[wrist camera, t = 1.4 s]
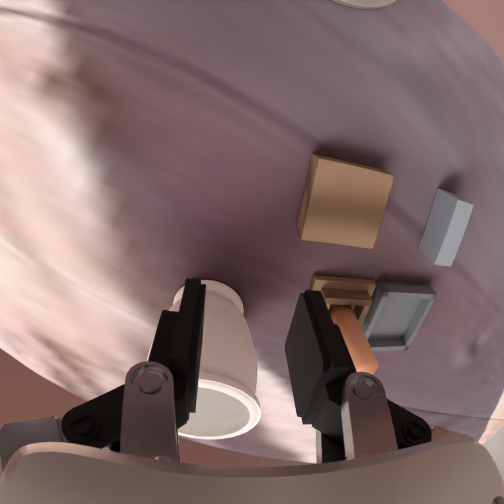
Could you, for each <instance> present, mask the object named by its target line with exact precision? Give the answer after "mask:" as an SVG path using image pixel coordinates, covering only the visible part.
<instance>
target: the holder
mask: <svg viewBox="0 0 504 504" xmlns="http://www.w3.org/2000/svg"><path fill="white" fill-rule="evenodd" d="M375 287H376V283H375V282H374V280H367V279H355V278H344V277H332V276H321V275H313V279H312V282H311V286H310V289H309V290H316V291H320V292H321V293H322V296H323V298H324V301H325V303H326V306H327V308H328V310H329V307H330V304H338V305H350V306H351V308H352V310H353V312H354V314H355V316H356V318H357V320H358V322H359V324H360V326H362V324H363V322H364V319H365V317H366V315H367V313H368V310H369V308H370V306H371V303H372V301H373V300H372V299H371V296H372V294H373V292H374V289H375Z"/></svg>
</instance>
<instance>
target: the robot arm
mask: <svg viewBox="0 0 504 504" xmlns="http://www.w3.org/2000/svg"><path fill="white" fill-rule="evenodd" d="M332 1H335V2H337V3H340V4H343V5H345V6H349V7H354V8H358V9H379V8H382V7H385V6H388V5H390V4H392V3H394V2H395V1H397V0H332ZM205 296H206V284H201V280H198V279H189V278H187V279H186V283H185V287H184V291H183V295H182V299H181V303H180V307H179V311H178V312H176V311H168V310H163V311H162V313H161V317H160V320H159V323H158V327H157V330H156V334H155V337H154V340H153V344H152V348H151V351H150V355H149V358H148V361H147V362H141V363H138V364H136V365H134V366H133V367H131V368H130V370H129V371H128V372H127V375H126V379H125V384H124V385H122V386H120V387H117V388H115V389H113V390H111V391H109V392H107V393H105V394H103V395H101V396H99V397H97V398H94V399H92V400H90V401H88V402H86V403H84V404H81V405H79V406H77V407H75V408H73V409H71V410H70V411H68V412H67V413H66V414H65V415H64V417H63V418H56V417H55V416H52V417H46V418H40V419H33V420H26V421H18V422H11V423H7V424H5V425H4V426H2V427H1V429H0V460H1V466H2V471H3V474H2V477H1V480H0V504H504V482H503V479H502V477H501V474H500V472H499V470H498V468H497V466H496V464H495V462H494V460H493V458H492V456H491V455H490V453H489V452H488V451H487V449H486V448H485V447H484V446H483V445H482V444H480V443H479V442H476V441H475V440H474V439H473V438H472V437H471V436H469V435H467V434H462V433H458V432H454V431H450V430H446V429H443V428H439V427H435V426H433V427H432V428H430V427H429V425H428V424H427V422H426V421H425V420H423V419H422V418H420V417H418V416H417V415H415V414H413V413H411V412H409V411H408V410H406V409H404V408H402V407H400V406H399V405H397V404H395V403H393V402H392V401H390V400H388V399H387V398H386V394H385V390H384V387H383V384H382V383H381V381H380V380H379V379H378V378H377V377H375V376H374V375H372V374H370V373H367V372H357V371H356V368H355V365H354V363H353V360H352V358H351V355H350V353H349V350H348V348H347V345H346V343H345V340H344V338H343V335H342V333H341V330H340V328H339V326H338V325H337V324H334V323H333V320H332V318H331V315H330V313H329V310H328V308H327V306H326V303H325V301H324V298H323V296H322V293H321V292H320V291H316V290H305V292H304V293H300V295H299V298H298V302H297V305H296V309H295V312H294V316H293V319H292V322H291V326H290V329H289V332H288V336H287V339H286V343H285V352H286V358H287V363H288V369H289V374H290V380H291V385H292V391H293V396H294V402H295V408H296V413H297V416H298V417H302V423H303V424H312V427H314V428H315V429H316V457H317V464H311V465H300V466H285V467H284V466H283V467H225V466H208V465H196V464H186V463H181V462H180V453H179V452H180V451H179V439H178V429H179V428H180V427H182V426H183V425H185V424H187V420H188V421H189V415H190V413H195V412H196V401H197V390H198V380H199V370H200V360H201V351H202V341H203V326H204V310H205Z"/></svg>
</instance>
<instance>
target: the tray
mask: <svg viewBox="0 0 504 504" xmlns="http://www.w3.org/2000/svg"><path fill="white" fill-rule="evenodd" d="M436 296H437V294H436V293H435V291H434V290H433V289H432V288H431V287H430V286H429V285H428V284H417V283H404V282H391V281H379V280H377V281H376V287H375V289H374V292H373V294H372V296H371V299H372V300H373V301H372V303H371V306H370V308H369V310H368V313H367V315H366V317H365V319H364V322H363V324H362V326H361V328H362V330H363V332H364V335H365V337H366V339H367V341H368V343H369V345H370V347H371V349H372V351H390V350H407V349H408V348H409V346H410V344H411V342H412V341H413V339H414V337H415V336H416V334H417V332H418V330H419V328H420V327H421V325H422V323H423V321H424V319H425V317H426V316H427V314H428V312H429V310H430V308H431V306H432V304H433V302H434V300H435V298H436Z"/></svg>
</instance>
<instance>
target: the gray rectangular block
mask: <svg viewBox="0 0 504 504" xmlns="http://www.w3.org/2000/svg"><path fill="white" fill-rule="evenodd" d="M473 206H474V205H473V204H472V203H470V202H468V201H466V200H465V199H463V198H461V197H459V196H458V195H456V194H454V193H451V192H448V191H445V190H442V189H439V188H438V189H437V193H436V196H435V200H434V203H433V206H432V209H431V213H430V216H429V219H428V222H427V225H426V228H425V231H424V233H423V236H422V239H421V242H420V245H419V247H418V249H419V250H420V251H421V252H422V253H423V254H424V255H425V256H426V257H427V258H428V259H429V260H430V261H431V262H432V263H433V264H434V265H442V266H450V267H451V265H452V263H453V260H454V258H455V256H456V253H457V251H458V248H459V246H460V243H461V240H462V238H463V235H464V232H465V230H466V227H467V224H468V221H469V218H470V215H471V212H472V209H473Z"/></svg>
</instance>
